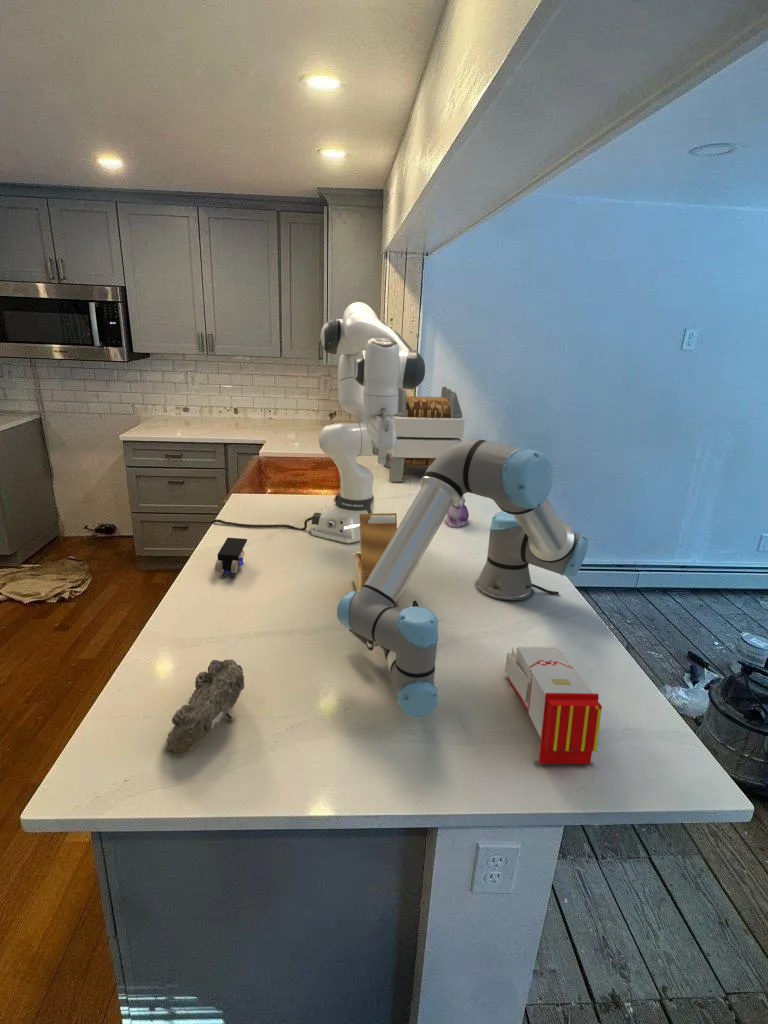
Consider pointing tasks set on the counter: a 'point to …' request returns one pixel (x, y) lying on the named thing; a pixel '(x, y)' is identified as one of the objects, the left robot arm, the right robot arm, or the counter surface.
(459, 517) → the figurine
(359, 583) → the chest
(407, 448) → the transformer
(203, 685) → the grey brown lumpy piece
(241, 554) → the figurine character
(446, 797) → the counter surface
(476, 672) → the counter surface
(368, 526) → the lid
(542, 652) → the toy
